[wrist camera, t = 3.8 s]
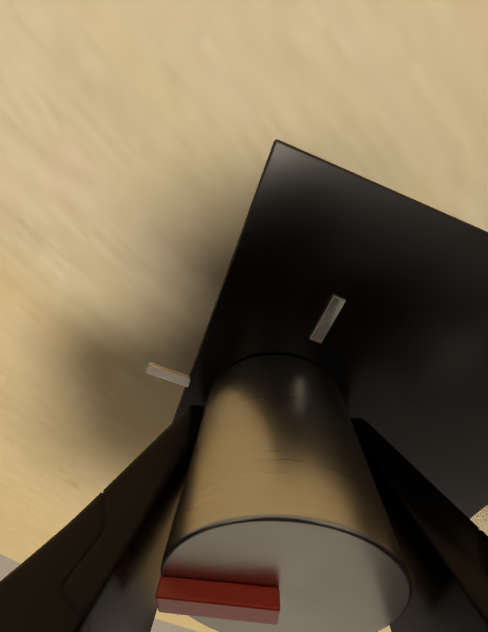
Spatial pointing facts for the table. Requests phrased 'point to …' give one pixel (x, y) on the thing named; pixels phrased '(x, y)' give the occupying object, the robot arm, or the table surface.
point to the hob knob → (281, 512)
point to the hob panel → (362, 312)
